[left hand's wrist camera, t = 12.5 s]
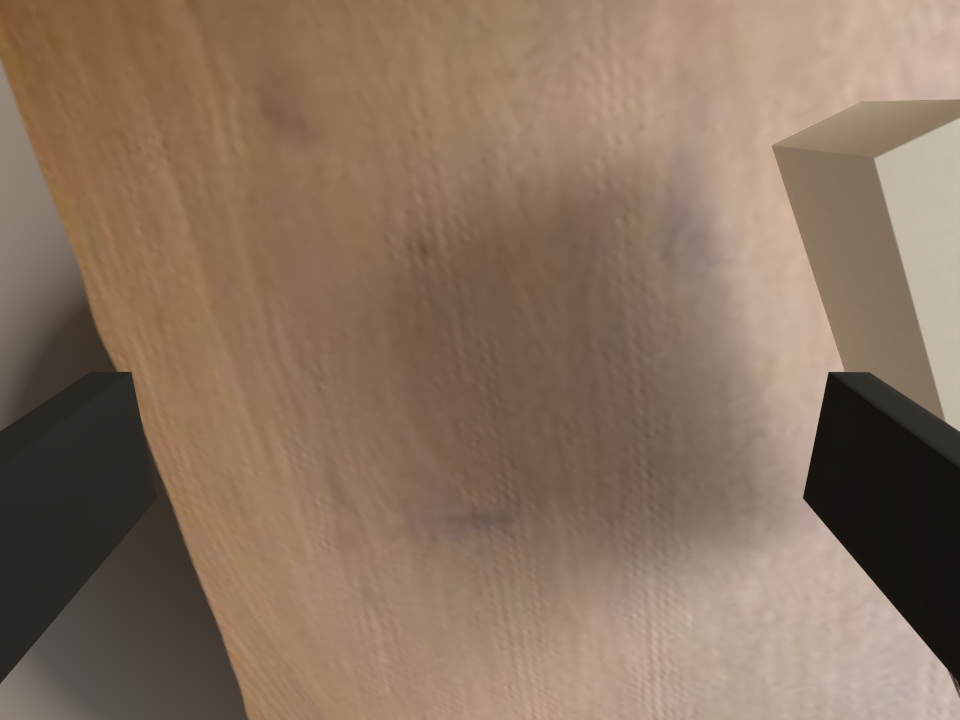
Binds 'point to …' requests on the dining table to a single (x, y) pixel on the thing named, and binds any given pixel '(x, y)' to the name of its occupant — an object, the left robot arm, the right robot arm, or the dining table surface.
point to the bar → (886, 240)
